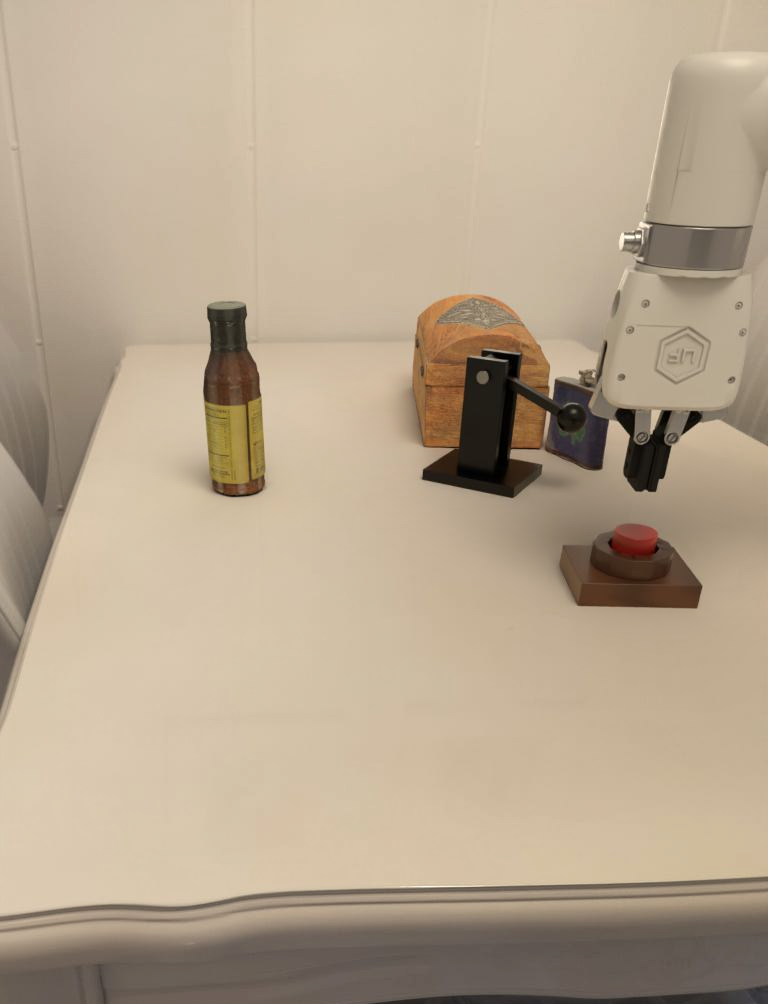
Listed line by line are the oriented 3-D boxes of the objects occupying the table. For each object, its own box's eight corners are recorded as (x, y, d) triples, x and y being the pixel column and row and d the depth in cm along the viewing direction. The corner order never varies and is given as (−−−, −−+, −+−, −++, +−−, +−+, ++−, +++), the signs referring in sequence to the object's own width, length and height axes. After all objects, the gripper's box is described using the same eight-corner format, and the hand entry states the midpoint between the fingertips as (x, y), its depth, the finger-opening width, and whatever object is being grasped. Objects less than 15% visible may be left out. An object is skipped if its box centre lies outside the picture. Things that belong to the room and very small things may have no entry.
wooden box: (550, 450, 114) (566, 335, 107) (416, 447, 115) (424, 333, 108) (519, 388, 140) (531, 292, 133) (410, 386, 141) (417, 290, 134)
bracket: (541, 474, 107) (558, 353, 100) (513, 498, 100) (529, 370, 93) (454, 457, 112) (464, 341, 105) (421, 479, 105) (430, 356, 99)
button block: (668, 568, 85) (677, 528, 83) (697, 609, 78) (708, 566, 76) (559, 566, 85) (565, 526, 83) (577, 606, 78) (585, 563, 76)
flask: (540, 448, 115) (552, 361, 109) (559, 445, 116) (572, 359, 110) (590, 471, 107) (605, 379, 102) (609, 468, 108) (626, 376, 103)
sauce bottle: (250, 475, 107) (246, 295, 97) (275, 492, 102) (273, 305, 92) (199, 484, 104) (188, 301, 94) (222, 502, 99) (213, 311, 89)
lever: (581, 434, 99) (597, 409, 97) (572, 442, 97) (587, 416, 95) (481, 375, 103) (494, 349, 101) (470, 381, 100) (483, 355, 98)
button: (647, 541, 81) (651, 523, 80) (659, 558, 78) (663, 539, 77) (606, 540, 81) (609, 522, 80) (616, 558, 78) (620, 539, 77)
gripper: (601, 255, 65) (559, 500, 74) (817, 259, 64) (748, 505, 73) (577, 242, 71) (542, 468, 80) (773, 245, 71) (715, 473, 80)
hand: (640, 485), depth 77 cm, fingers closed
